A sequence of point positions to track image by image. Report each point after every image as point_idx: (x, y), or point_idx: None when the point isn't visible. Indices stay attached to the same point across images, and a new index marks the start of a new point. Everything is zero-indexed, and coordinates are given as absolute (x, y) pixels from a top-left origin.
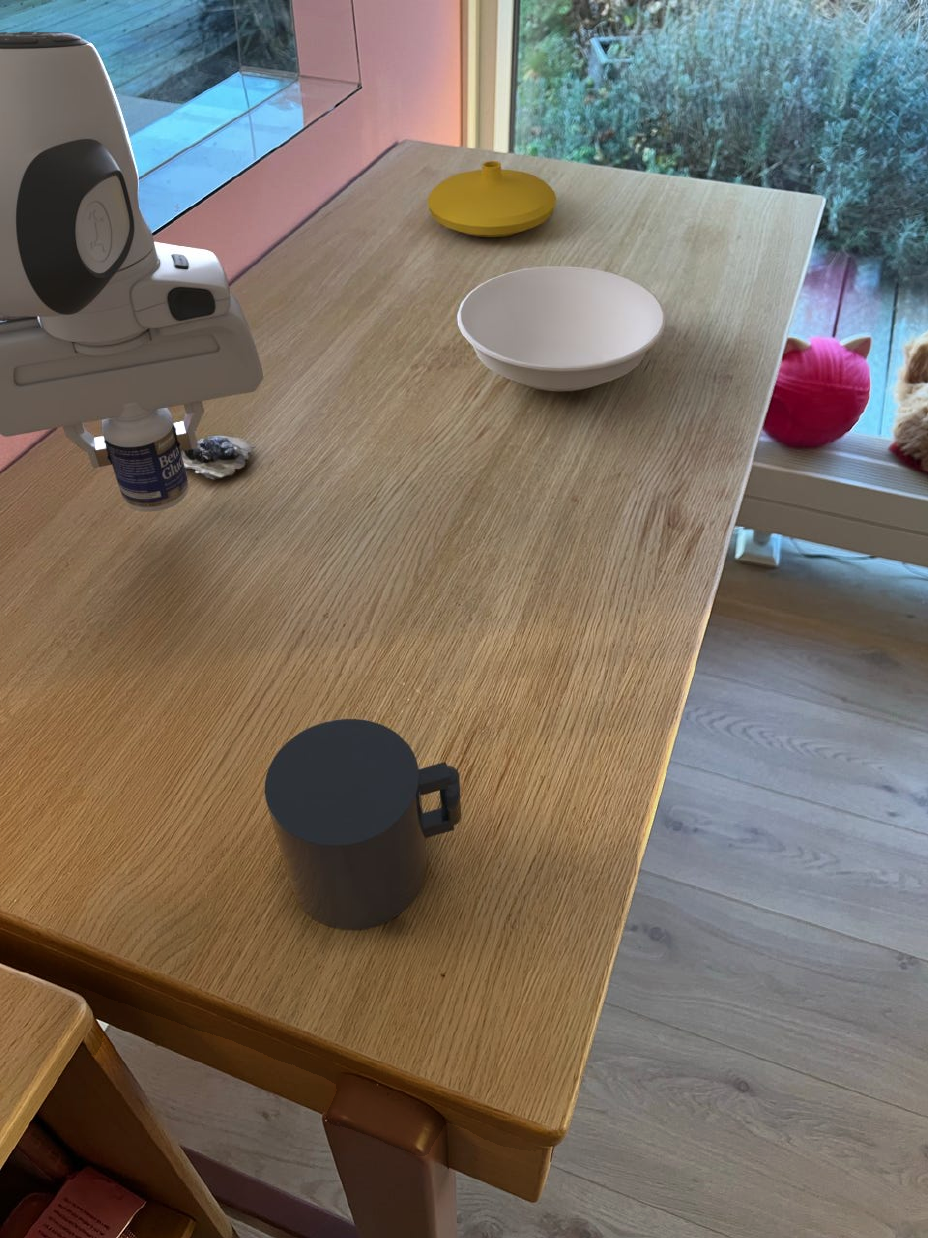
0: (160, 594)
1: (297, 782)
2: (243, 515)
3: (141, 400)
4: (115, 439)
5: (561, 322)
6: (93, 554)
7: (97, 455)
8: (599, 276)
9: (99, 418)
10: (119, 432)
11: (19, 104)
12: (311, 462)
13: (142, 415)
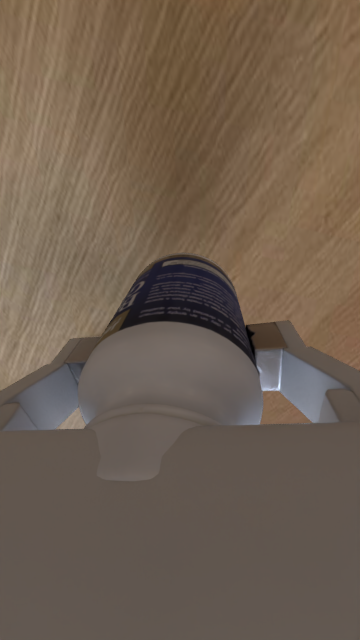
0: (191, 95)
1: None
2: (87, 272)
3: (70, 484)
4: (226, 352)
5: None
6: (286, 233)
7: (279, 337)
8: None
9: (277, 428)
10: (209, 369)
11: None
12: (28, 345)
13: (112, 413)
